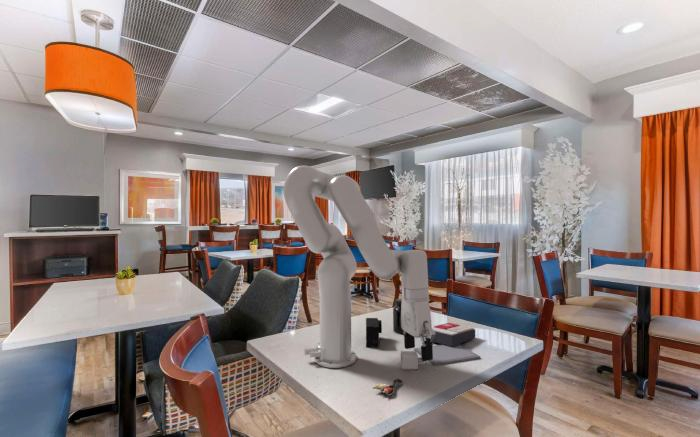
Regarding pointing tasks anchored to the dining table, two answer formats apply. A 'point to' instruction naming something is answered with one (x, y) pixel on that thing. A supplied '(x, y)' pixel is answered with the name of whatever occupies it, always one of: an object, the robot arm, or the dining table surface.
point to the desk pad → (449, 354)
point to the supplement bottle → (397, 317)
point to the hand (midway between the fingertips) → (418, 353)
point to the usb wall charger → (410, 360)
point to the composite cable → (388, 388)
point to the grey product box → (452, 334)
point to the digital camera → (373, 332)
